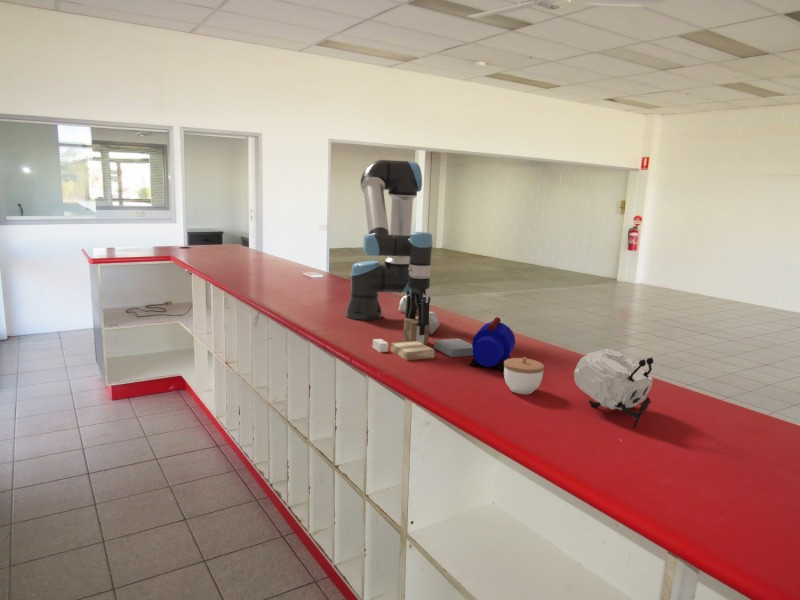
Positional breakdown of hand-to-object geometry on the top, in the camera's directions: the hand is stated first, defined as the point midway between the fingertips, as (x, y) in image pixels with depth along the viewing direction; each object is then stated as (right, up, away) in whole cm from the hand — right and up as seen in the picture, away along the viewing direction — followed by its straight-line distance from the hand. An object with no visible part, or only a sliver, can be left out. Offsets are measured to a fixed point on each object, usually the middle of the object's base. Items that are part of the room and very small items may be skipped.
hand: (415, 341), depth 200 cm
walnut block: (0, 0, 0) cm, 0 cm away
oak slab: (-2, -4, -15) cm, 15 cm away
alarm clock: (+23, -6, -24) cm, 34 cm away
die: (+5, +2, +15) cm, 16 cm away
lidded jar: (+28, -10, -45) cm, 54 cm away
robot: (+50, -14, -58) cm, 77 cm away
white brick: (-12, -2, -11) cm, 17 cm away
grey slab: (+13, -3, -9) cm, 16 cm away
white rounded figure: (0, +9, +51) cm, 51 cm away
